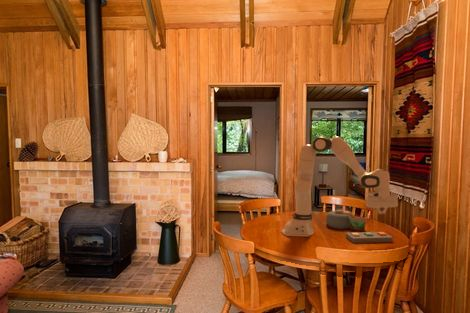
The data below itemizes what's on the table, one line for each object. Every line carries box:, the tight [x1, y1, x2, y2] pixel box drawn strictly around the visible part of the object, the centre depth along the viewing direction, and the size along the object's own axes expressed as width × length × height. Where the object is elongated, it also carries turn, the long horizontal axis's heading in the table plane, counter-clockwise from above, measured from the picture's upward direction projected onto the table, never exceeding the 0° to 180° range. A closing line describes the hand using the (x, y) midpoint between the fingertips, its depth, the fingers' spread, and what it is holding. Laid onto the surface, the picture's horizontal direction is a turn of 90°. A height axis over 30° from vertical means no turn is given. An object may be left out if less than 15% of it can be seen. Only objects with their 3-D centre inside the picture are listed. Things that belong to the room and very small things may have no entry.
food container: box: [349, 216, 368, 232], centre depth 216 cm, size 12×6×10 cm, turn 68°
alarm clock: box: [325, 209, 354, 230], centre depth 230 cm, size 19×20×12 cm
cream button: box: [350, 232, 360, 236], centre depth 196 cm, size 4×4×2 cm
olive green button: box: [363, 231, 373, 236], centre depth 196 cm, size 4×4×2 cm
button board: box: [345, 231, 394, 244], centre depth 196 cm, size 26×12×3 cm, turn 92°
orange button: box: [376, 231, 387, 236], centre depth 197 cm, size 4×4×2 cm
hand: (381, 213), depth 196 cm, fingers closed
